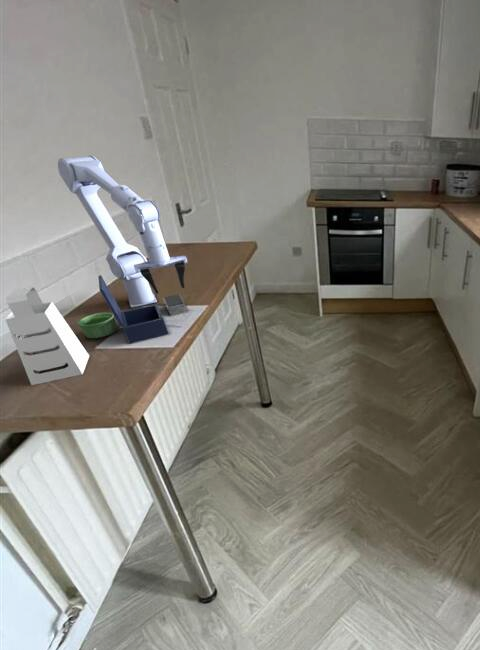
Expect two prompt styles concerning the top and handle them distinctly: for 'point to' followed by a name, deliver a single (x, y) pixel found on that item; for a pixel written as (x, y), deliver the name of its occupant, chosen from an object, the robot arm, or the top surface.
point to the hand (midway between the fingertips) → (170, 289)
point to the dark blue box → (143, 323)
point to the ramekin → (98, 325)
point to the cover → (110, 300)
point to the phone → (175, 304)
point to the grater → (43, 338)
